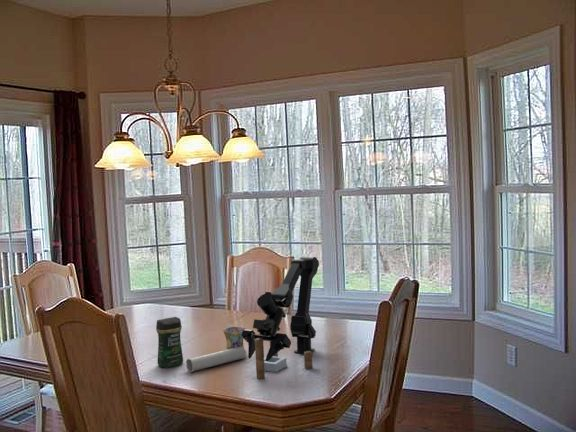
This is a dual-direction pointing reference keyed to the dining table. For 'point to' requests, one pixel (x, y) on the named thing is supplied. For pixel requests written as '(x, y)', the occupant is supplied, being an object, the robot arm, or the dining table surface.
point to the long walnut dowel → (259, 358)
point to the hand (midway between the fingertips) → (257, 359)
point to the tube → (215, 359)
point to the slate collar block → (274, 363)
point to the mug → (234, 337)
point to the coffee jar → (169, 342)
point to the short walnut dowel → (308, 360)
